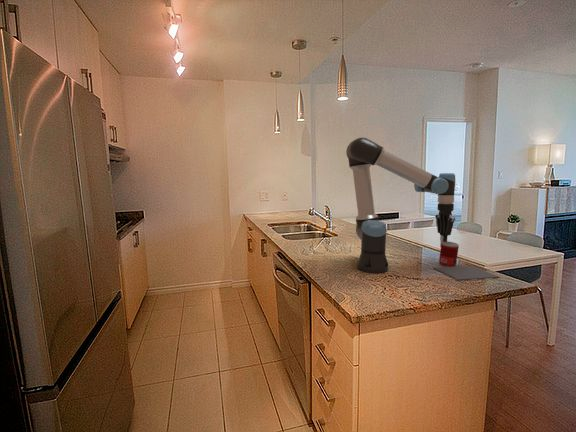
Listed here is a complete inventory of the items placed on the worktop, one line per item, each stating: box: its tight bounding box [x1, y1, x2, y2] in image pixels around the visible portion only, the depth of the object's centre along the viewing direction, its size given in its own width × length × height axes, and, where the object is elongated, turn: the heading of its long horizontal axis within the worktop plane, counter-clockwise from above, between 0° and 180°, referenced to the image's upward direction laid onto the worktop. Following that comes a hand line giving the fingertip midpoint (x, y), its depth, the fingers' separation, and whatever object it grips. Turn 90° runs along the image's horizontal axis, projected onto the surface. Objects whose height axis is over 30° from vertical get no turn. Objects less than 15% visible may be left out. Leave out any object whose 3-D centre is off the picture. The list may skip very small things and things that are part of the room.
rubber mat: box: [432, 265, 500, 282], centre depth 152 cm, size 21×18×1 cm
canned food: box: [438, 241, 460, 267], centre depth 165 cm, size 8×8×11 cm
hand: (443, 247), depth 170 cm, fingers closed
